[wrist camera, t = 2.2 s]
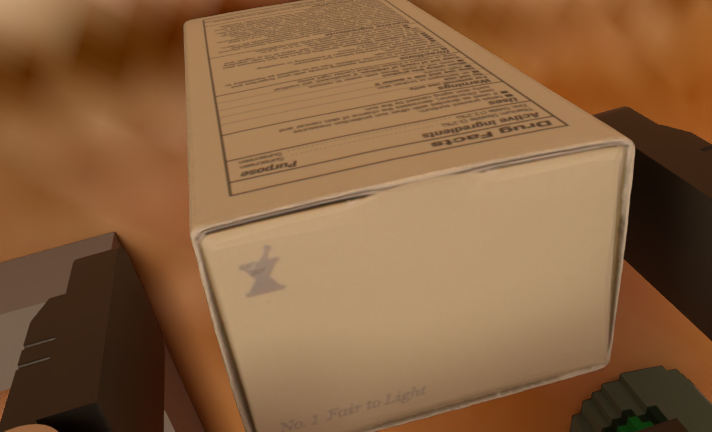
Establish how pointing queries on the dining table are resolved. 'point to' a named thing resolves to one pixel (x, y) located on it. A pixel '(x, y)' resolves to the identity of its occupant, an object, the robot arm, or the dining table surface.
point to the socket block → (49, 279)
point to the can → (645, 403)
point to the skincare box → (393, 216)
